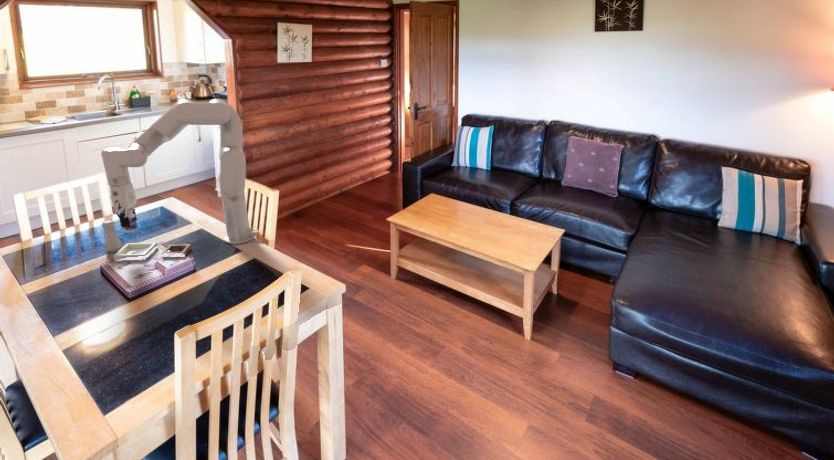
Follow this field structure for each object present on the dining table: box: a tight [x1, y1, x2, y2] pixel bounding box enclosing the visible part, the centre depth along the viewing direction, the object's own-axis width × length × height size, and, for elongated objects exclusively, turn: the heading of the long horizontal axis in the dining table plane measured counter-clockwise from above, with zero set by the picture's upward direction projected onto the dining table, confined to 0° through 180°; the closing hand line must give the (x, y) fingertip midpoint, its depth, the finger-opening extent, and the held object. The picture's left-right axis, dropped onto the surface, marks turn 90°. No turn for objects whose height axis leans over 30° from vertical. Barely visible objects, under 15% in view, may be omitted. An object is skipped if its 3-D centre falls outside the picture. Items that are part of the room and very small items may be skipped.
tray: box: [113, 241, 158, 261], centre depth 200 cm, size 12×12×3 cm
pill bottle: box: [120, 208, 138, 233], centre depth 194 cm, size 5×5×9 cm
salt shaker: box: [101, 220, 123, 253], centre depth 202 cm, size 6×6×13 cm
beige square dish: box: [161, 243, 192, 255], centre depth 201 cm, size 8×8×2 cm
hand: (129, 223), depth 195 cm, fingers closed on pill bottle, 5 cm apart
